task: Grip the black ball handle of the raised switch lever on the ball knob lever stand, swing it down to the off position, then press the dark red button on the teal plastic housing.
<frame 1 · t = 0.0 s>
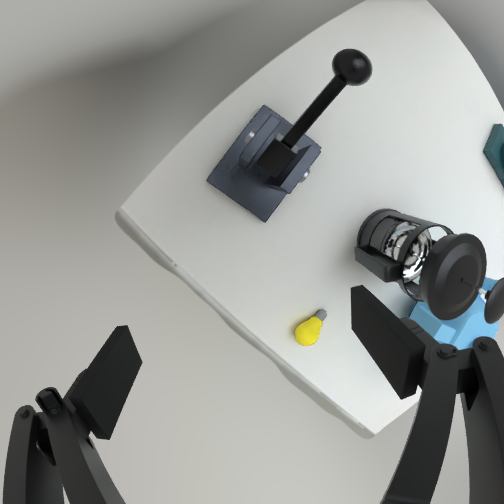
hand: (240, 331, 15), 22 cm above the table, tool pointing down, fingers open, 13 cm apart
teapot: (435, 303, 42), on the table
french press: (381, 240, 38), on the table
button box: (501, 158, 35), on the table
switch lever: (315, 109, 20), point 14 cm above the table, hinge at 25.0°
ball knob lever stand: (264, 162, 34), on the table
light bulb: (309, 322, 41), on the table
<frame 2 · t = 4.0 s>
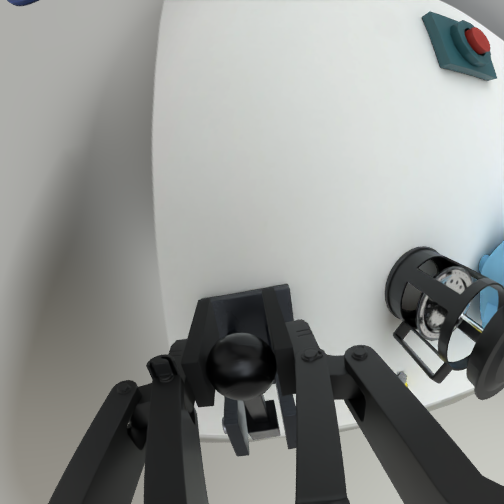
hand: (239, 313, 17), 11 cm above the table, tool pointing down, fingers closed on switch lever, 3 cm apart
teapot: (496, 265, 30), on the table
french press: (413, 286, 30), on the table
button box: (458, 49, 22), on the table
stop button: (477, 40, 17), point 4 cm above the table, slide at 0.1 cm
switch lever: (254, 400, 15), point 14 cm above the table, hinge at 25.0°, touching gripper
ball knob lever stand: (253, 340, 30), on the table
light bulb: (396, 385, 34), on the table
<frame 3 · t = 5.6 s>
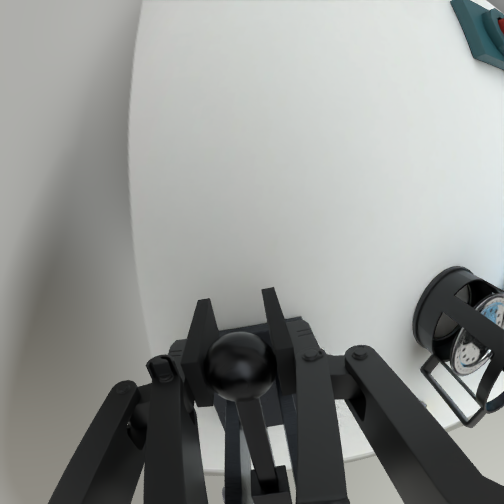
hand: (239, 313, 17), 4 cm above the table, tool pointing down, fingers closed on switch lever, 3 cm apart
french press: (442, 311, 24), on the table
button box: (488, 39, 16), on the table
switch lever: (258, 442, 12), point 11 cm above the table, hinge at -10.5°, touching gripper
ball knob lever stand: (258, 379, 24), on the table
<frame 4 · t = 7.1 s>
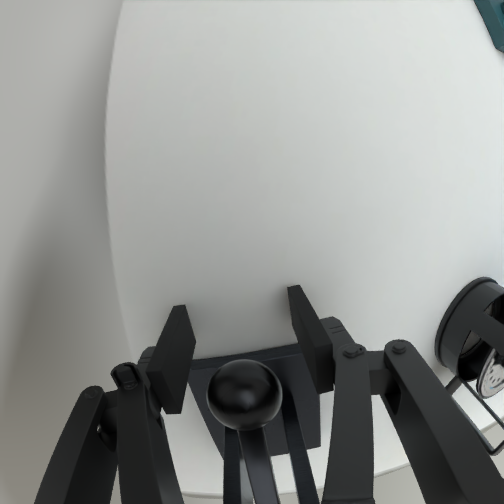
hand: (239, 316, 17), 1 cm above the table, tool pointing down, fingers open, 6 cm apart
french press: (466, 327, 20), on the table
switch lever: (263, 483, 10), point 10 cm above the table, hinge at -28.5°
ball knob lever stand: (261, 408, 20), on the table
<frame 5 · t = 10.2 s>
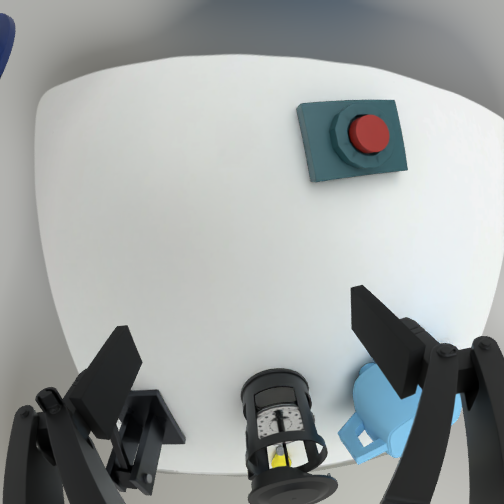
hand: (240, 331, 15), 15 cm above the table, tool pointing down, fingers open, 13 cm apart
teapot: (389, 367, 36), on the table
french press: (272, 394, 36), on the table
button box: (351, 139, 27), on the table
stop button: (369, 134, 23), point 4 cm above the table, slide at 0.1 cm
switch lever: (117, 445, 26), point 10 cm above the table, hinge at -28.5°
ball knob lever stand: (146, 417, 36), on the table
light bulb: (280, 452, 40), on the table
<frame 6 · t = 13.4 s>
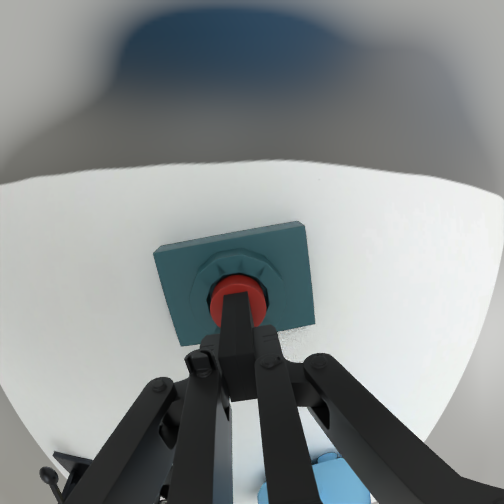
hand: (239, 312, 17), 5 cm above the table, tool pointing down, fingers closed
teapot: (307, 469, 31), on the table
french press: (187, 479, 31), on the table
button box: (237, 281, 23), on the table
stop button: (238, 304, 19), point 4 cm above the table, slide at -0.1 cm, touching gripper
switch lever: (60, 499, 21), point 10 cm above the table, hinge at -28.5°
ball knob lever stand: (89, 473, 31), on the table
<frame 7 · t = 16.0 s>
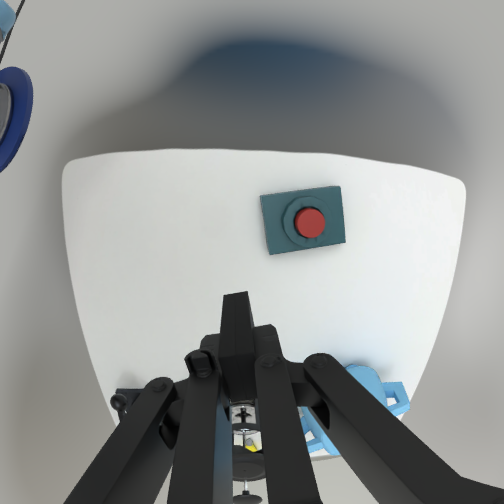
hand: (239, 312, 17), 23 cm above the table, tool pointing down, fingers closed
teapot: (335, 383, 48), on the table
french press: (241, 397, 48), on the table
button box: (302, 218, 40), on the table
stop button: (309, 222, 35), point 4 cm above the table, slide at 0.1 cm
switch lever: (125, 428, 37), point 10 cm above the table, hinge at -28.5°
light bulb: (249, 444, 52), on the table
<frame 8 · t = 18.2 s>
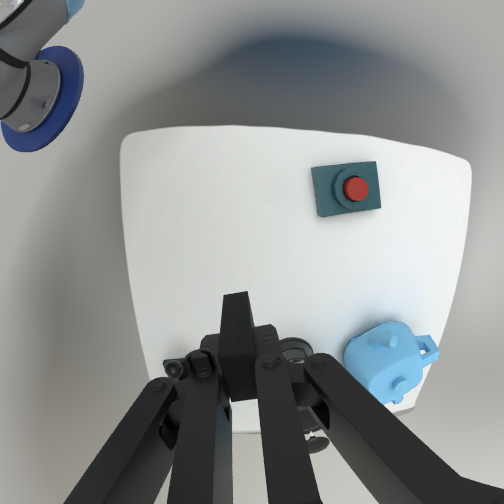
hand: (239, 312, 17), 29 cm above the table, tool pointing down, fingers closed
teapot: (370, 341, 54), on the table
french press: (287, 358, 53), on the table
button box: (345, 187, 45), on the table
stop button: (355, 188, 41), point 4 cm above the table, slide at 0.1 cm
switch lever: (179, 395, 43), point 10 cm above the table, hinge at -28.5°
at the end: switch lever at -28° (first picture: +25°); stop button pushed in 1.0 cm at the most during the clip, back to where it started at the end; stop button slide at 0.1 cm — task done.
